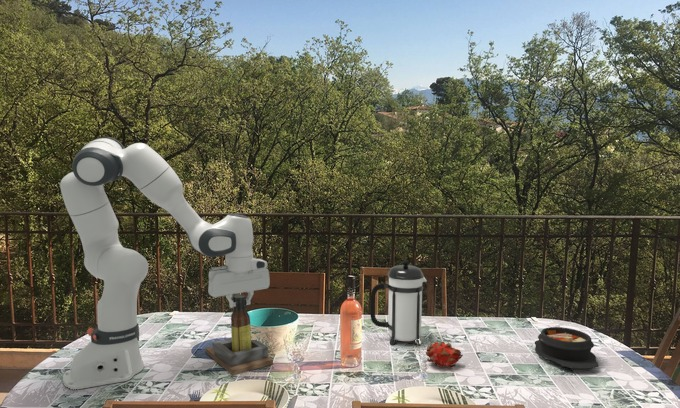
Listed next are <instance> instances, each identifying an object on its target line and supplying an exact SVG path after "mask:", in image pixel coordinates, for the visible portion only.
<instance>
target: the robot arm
mask: <svg viewBox="0 0 680 408" xmlns="http://www.w3.org/2000/svg"><path fill="white" fill-rule="evenodd" d="M71 167H72V171H71V172H69V173H67V174H66V175H64V177H63V178H62V179H61V181H60V184H59V186H60V187H59V188H60V191H61V192H60V193H61V196H62V199H63V202H64V205H65V208H66V210H67V212H68V215H69V217H70V219H71V221H72V223H73V225H74V228H75V230H76V231H77V234H78V236H79V239H80V241H81V245H82V249H83V255H84V258H83V259H84V260H83V264H84V268H85V269H86V270H87V271H88V272H89V273H90V274H91V275H92V276H93V277H94V278H97V279H100V280H103V289H102V290H103V291H102V294H101V295H102V296H101V298H100V299H99V300H98V301H97V305H96V306H97V307H96V308H97V309H96V310H97V311H96V312H97V314H96V315H97V327H96V328H95V329H94V328H93V327H90V328H88V329H87V331H86V332H87V335H88V336H89V337H90V342H89V343H87V344H86V345H85V346H84V347H83V348H82V349H81V350H79V351H78V352H77V353H75V355H74V356H73V358H72V361H71V365H70V369H69V370H66V371H65V372H64V373H63V375H62V384H63V383H64V384H63V385H64V386H65V387H66V388H67V387H68V388H67V389H69V388H70V389H69V390H72V389H73V390H74V389H75V390H74V391H76V389H77V390H81V389H87V388H93V387H99V386H104V385H105V386H106V385H111V384H115V383H116V384H117V383H122V382H126V381H130V380H131V379H132V378H133V377H135V375H137V374H139V373H140V372H141V371H143V370H144V368H145V364H144V361H143V358H142V354H141V350H140V344H139V341H140V325H139V323H138V313H137V312H138V311H137V310H138V307H137V306H138V304H137V302H138V294H139V290H140V286H141V283H142V282H143V281H144V280H145V278H146V277H147V275H148V272H149V263H148V261H147V259H146V258H145V256H144V255H142V253H139V252H138V251H136V250H134V249H132V248H127V247H124V246H123V245H122V244H121V242H120V239H119V232H118V229H119V226H120V224H119V220H118V218H117V216H116V214H115V212H114V211H115V210H114V209H113V206H112V204H111V203H110V200H109V198H108V195H107V194H106V191H105V187H104V185H105V184H108V183H111V182H114V181H117V180H119V179H121V178H122V177H124V178H127V180H129V181H130V182H132V184H133V185H134V186H135V187H136V188H137V189H138V190H139V191H140V192H141V193H142V194H143V195H144V196H145V197H146V198H147V199H148V200H149V201H151V202H152V203H153V204H155V205H156V206H157V207H160V208H161V209H164V210H165V211H167V212H168V213H169V214H170V215H171V217H172V218H174V220H175V221H176V222H177V223H178V224H179V225H180V226H181V227H182V229H183V230H184V231H185V234H186V236H187V240H188V242H189V245H190V247H191V248H192V249H193V250H195V251H196V252H199V253H201V254H202V255H203V256H206V257H209V258H218V257H222V256H225V261H224V262H225V265H222V266H215V267H212V268H211V269H210V270H209V272H208V287H207V289H208V290H207V291H208V295H210V296H211V297H213V298H218V297H219V298H220V297H224V296H225V297H226V299H227V301H228V302H229V308H230V309H234V307H236V302H234V301H233V296H234V295H238V294H244V293H247V295H246V306H249V305H251V300H252V298H253V296H254V291H260V290H265V289H268V288H269V287H270V284H271V283H270V281H271V280H270V272H269V269H268V262H267V261H266V260H264V259H261V258H258V257H254V251H253V243H254V230H253V224H252V220H251V219H250V217H249V216H247V215H243V214H238V213H229V214H227V215H226V216H224V218H222V219H221V220H219V221H218V222H215V223H211V222H209V221H207V220H204V219H203V218H201V217H200V216H199V214H198V213H197V212H196V211H195V209H194V208H193V207H192V206H191V205H190V204H189V202H188V201H187V200H186V198H185V196H184V191H183V190H184V185H183V183H182V181H181V179H180V177H179V176H178V174H177V173H176V172H175V170H174V168H173V167H171V166H170V164H169V163H168V162H167V161H166V160H165V159H164V158H163V157H162V155H160V154H159V153H157V151H155V150H154V149H153V147H151V146H149V145H148V144H146V143H143V142H136V143H132V144H130V145H128V146H127V147H124V145H123V144H122V142H120V141H119V140H118V139H116V138H113V137H110V136H101V137H97V138H95V139H93V140H92V141H90V142H88V143H87V144H85V145H84V146H83V147H82V148H81V149H80V150H79V151H78V152H77V153H76V154H75V156H74V158H73V160H72V165H71ZM73 390H72V391H73Z"/></svg>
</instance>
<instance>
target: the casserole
mask: <svg viewBox="0 0 680 408" xmlns="http://www.w3.org/2000/svg"><path fill="white" fill-rule="evenodd" d="M594 346H595V343H594V342H593V341H592V338H591V336H590V335H589V334H587V333H585V332H583V331H580V330H578V329H573V328H569V327H563V326H562V327H560V326H557V327H556V326H555V327H554V326H553V327H552V326H551V327H545V328H542V330H541V332H540V334H538V335H537V340H535V341H534V347H535V348H534V351H535V352H536V354H538V355H539V356H540V357H542V358H543V359H545V360H549V361H551V362H552V363H556V364H558V365H560V366H562V367H564V368H568V369H574V370H590V369H595V368H599V366H600V364H599V363H598V361H597V356H596V355H595V354H594V353H593V352H592V349H593V348H594Z"/></svg>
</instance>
